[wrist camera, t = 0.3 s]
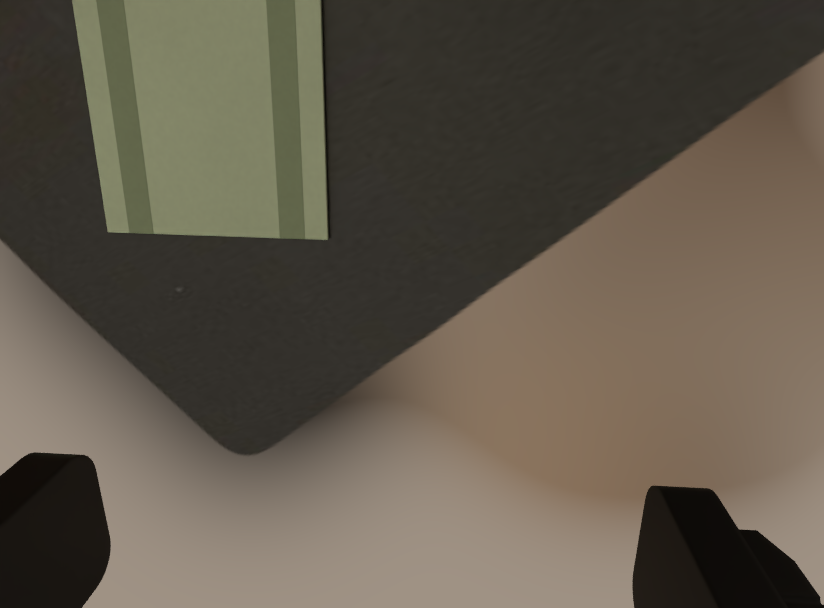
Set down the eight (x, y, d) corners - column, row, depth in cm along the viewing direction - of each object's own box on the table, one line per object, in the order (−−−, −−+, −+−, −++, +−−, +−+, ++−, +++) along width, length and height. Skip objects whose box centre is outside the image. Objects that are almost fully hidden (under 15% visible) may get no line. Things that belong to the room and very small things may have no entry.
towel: (69, -38, 33) (65, -39, 32) (320, -37, 32) (319, -39, 31) (110, 231, 38) (107, 232, 37) (328, 238, 37) (327, 239, 36)
